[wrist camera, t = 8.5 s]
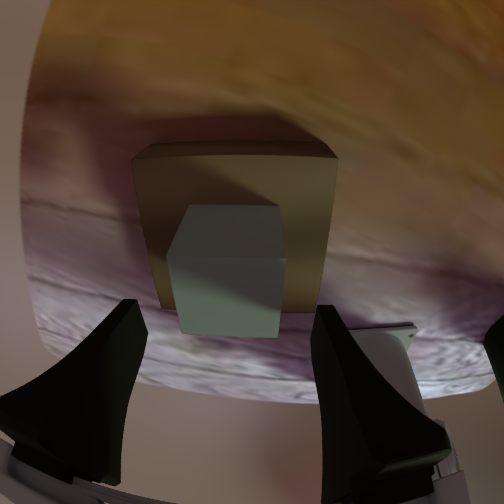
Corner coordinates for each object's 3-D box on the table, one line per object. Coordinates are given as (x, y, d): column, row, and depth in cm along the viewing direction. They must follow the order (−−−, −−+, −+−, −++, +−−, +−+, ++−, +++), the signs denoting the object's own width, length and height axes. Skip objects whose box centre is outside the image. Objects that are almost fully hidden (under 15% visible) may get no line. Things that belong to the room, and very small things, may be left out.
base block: (309, 283, 21) (314, 312, 19) (171, 280, 22) (161, 308, 19) (325, 143, 16) (338, 158, 13) (150, 144, 16) (131, 159, 14)
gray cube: (274, 277, 17) (277, 337, 14) (196, 275, 17) (182, 333, 14) (279, 205, 15) (286, 258, 11) (189, 204, 15) (166, 255, 11)
